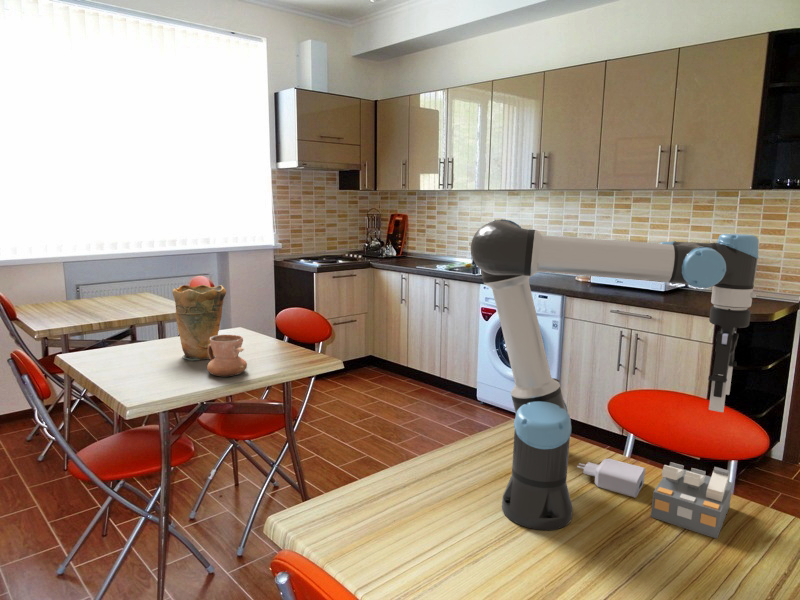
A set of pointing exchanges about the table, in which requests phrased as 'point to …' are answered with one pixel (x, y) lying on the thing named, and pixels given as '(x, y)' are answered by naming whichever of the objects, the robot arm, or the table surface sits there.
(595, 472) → the charger
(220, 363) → the ceramic jug
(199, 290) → the vase
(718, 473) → the rocker
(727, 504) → the switch unit
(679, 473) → the rocker
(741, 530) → the table surface
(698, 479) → the rocker
